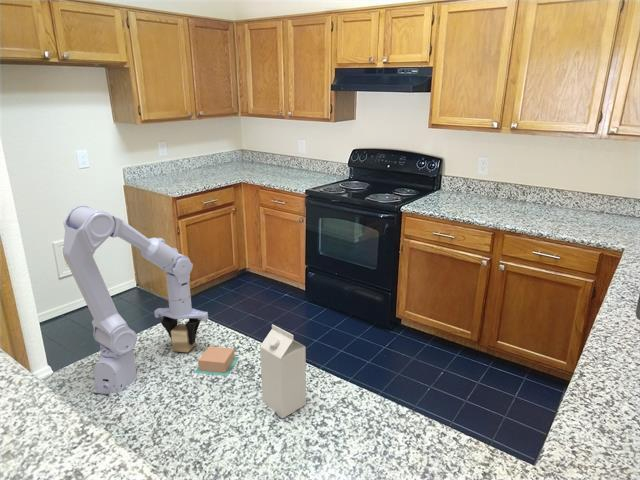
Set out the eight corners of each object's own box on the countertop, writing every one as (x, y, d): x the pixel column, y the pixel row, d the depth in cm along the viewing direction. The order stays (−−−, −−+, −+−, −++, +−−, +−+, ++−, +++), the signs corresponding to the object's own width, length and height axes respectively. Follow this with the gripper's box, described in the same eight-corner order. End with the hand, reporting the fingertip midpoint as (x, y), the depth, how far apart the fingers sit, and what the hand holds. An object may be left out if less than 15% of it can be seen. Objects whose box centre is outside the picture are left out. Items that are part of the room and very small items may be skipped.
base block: (225, 373, 114) (224, 362, 113) (198, 370, 115) (197, 360, 114) (234, 358, 120) (234, 348, 120) (209, 356, 122) (209, 346, 121)
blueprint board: (229, 385, 110) (229, 382, 110) (183, 380, 112) (183, 377, 112) (248, 355, 124) (248, 352, 123) (206, 351, 126) (206, 348, 125)
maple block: (188, 352, 123) (186, 332, 121) (172, 351, 123) (170, 331, 122) (195, 344, 127) (193, 324, 125) (180, 342, 128) (178, 323, 126)
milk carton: (286, 391, 108) (284, 319, 103) (306, 405, 103) (305, 329, 98) (262, 405, 103) (259, 329, 98) (282, 419, 98) (280, 341, 93)
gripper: (211, 292, 123) (214, 337, 127) (161, 289, 126) (166, 333, 130) (200, 303, 117) (203, 350, 121) (148, 299, 119) (153, 345, 123)
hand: (183, 342), depth 125 cm, fingers closed on maple block, 4 cm apart
